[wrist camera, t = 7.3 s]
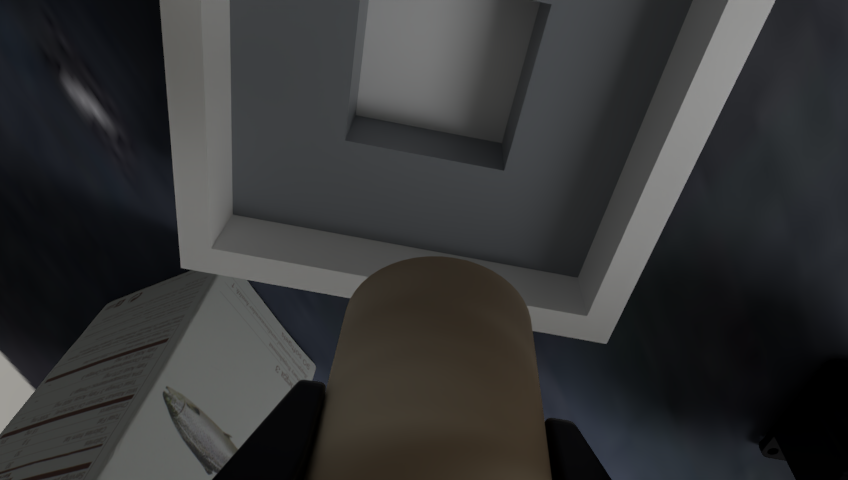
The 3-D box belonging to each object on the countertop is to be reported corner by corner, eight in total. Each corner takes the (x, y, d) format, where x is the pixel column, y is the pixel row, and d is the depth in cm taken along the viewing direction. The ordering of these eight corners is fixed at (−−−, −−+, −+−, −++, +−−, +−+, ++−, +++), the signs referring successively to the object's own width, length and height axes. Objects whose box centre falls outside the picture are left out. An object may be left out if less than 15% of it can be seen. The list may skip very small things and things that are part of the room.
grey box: (755, -165, 16) (856, -166, 11) (583, 255, 24) (606, 344, 19) (227, -280, 15) (133, -323, 11) (233, 190, 23) (180, 268, 19)
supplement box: (322, 365, 28) (233, 674, 18) (199, 401, 30) (56, 696, 20) (232, 247, 25) (55, 550, 14) (100, 298, 27) (-138, 593, 16)
